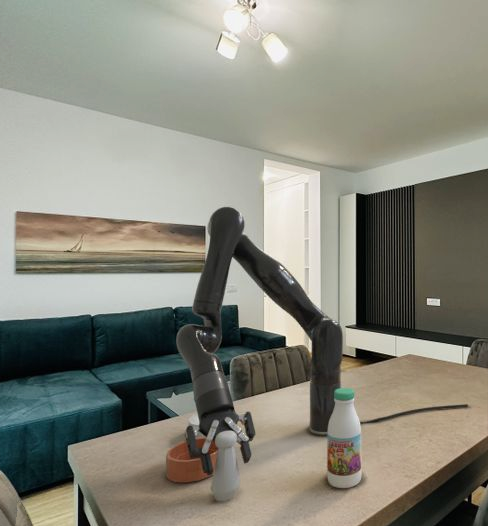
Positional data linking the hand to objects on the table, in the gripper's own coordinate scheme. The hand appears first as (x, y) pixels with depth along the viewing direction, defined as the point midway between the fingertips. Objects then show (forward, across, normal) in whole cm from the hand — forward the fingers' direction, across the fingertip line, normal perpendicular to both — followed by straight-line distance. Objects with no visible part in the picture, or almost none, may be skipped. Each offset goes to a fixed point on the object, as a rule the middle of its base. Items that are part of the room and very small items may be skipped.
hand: (229, 467), depth 77 cm
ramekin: (-20, +6, +30) cm, 36 cm away
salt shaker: (+3, 0, +6) cm, 7 cm away
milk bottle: (+11, +22, -2) cm, 25 cm away
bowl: (-7, -2, +17) cm, 18 cm away
